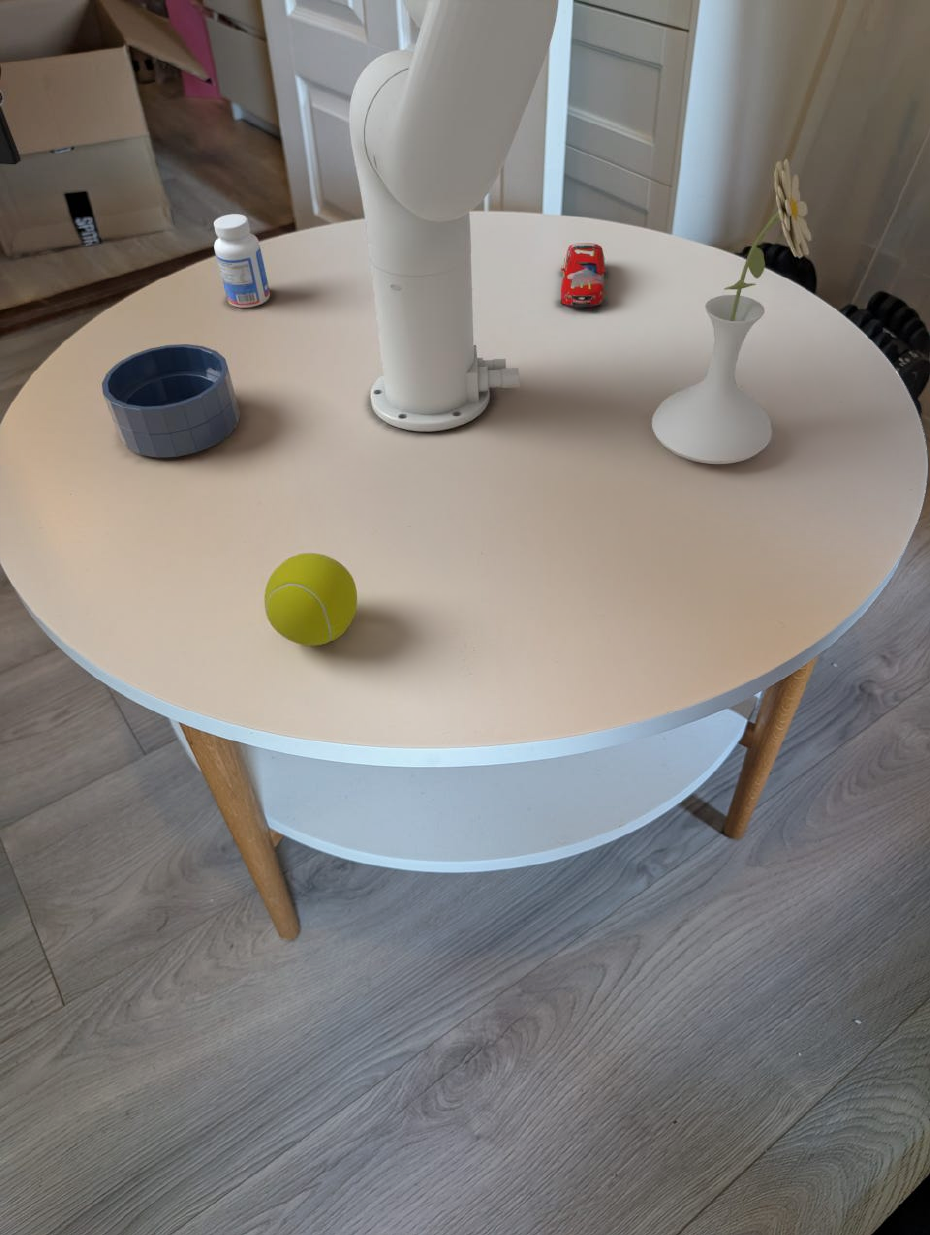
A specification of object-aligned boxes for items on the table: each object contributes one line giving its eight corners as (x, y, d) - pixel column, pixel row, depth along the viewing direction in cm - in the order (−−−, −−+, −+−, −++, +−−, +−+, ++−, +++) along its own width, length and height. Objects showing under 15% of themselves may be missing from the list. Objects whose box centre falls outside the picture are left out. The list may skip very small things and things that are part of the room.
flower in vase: (728, 491, 80) (793, 213, 62) (626, 444, 86) (659, 177, 68) (797, 428, 87) (874, 160, 69) (698, 389, 92) (745, 131, 74)
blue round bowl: (248, 392, 95) (235, 341, 91) (230, 458, 87) (215, 406, 82) (136, 397, 95) (119, 346, 91) (108, 464, 87) (87, 412, 82)
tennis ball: (343, 670, 67) (329, 607, 62) (260, 654, 69) (240, 590, 64) (374, 607, 72) (364, 543, 67) (295, 593, 73) (279, 529, 68)
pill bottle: (249, 285, 113) (232, 207, 106) (279, 295, 111) (264, 217, 104) (218, 302, 110) (198, 223, 103) (248, 313, 108) (230, 233, 101)
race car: (602, 314, 105) (605, 282, 102) (557, 312, 105) (558, 280, 102) (606, 264, 113) (609, 233, 111) (565, 263, 114) (566, 232, 111)
